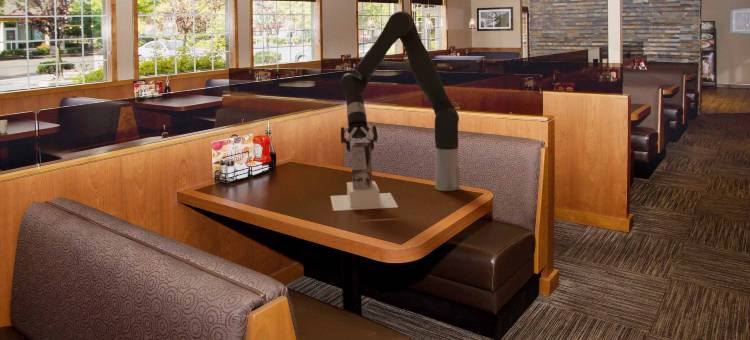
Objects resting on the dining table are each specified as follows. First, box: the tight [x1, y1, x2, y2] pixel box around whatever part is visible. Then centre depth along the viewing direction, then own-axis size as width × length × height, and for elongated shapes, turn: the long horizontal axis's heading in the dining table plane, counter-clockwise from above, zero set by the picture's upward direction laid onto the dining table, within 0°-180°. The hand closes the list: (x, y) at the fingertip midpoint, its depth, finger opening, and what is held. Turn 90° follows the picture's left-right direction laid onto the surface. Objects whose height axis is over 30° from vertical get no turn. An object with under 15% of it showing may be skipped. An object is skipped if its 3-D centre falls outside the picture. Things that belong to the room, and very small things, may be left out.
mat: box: [329, 192, 399, 212], centre depth 235 cm, size 24×20×1 cm
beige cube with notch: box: [346, 180, 380, 207], centre depth 234 cm, size 11×14×6 cm
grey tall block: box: [351, 142, 373, 189], centre depth 232 cm, size 9×6×16 cm
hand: (360, 150), depth 235 cm, fingers open, 8 cm apart
